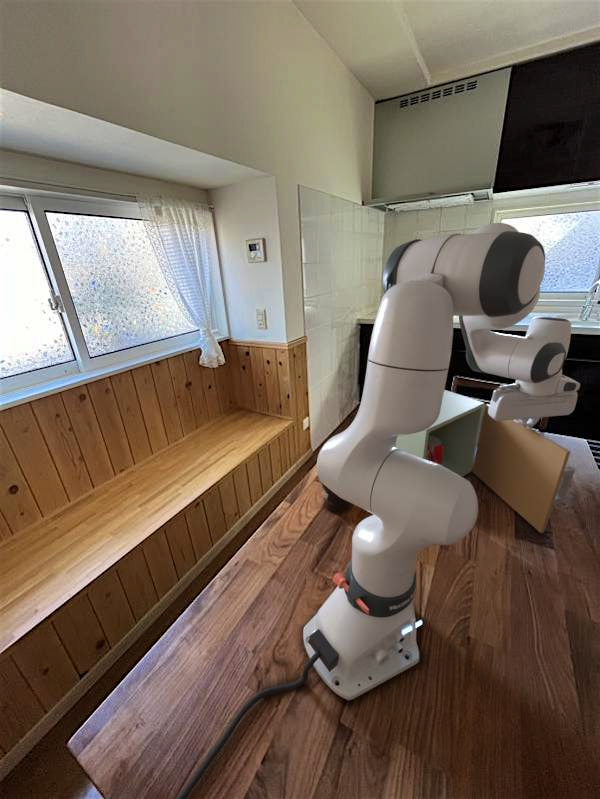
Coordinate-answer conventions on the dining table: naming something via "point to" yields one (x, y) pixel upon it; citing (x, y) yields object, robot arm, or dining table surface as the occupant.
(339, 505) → the coffee mug
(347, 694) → the robot arm
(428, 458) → the soda can
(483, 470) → the cupboard door
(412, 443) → the cupboard
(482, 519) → the dining table surface
